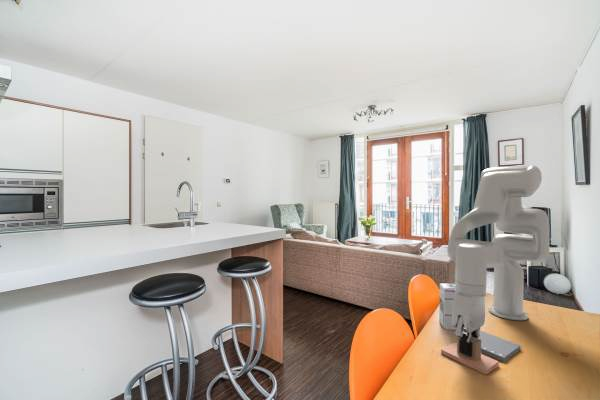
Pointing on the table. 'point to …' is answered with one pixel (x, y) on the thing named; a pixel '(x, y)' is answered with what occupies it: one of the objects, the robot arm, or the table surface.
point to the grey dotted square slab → (497, 346)
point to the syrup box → (446, 305)
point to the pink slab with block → (476, 360)
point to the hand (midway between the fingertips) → (468, 351)
